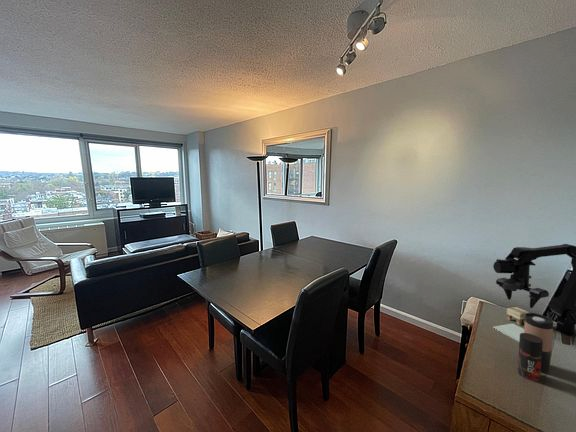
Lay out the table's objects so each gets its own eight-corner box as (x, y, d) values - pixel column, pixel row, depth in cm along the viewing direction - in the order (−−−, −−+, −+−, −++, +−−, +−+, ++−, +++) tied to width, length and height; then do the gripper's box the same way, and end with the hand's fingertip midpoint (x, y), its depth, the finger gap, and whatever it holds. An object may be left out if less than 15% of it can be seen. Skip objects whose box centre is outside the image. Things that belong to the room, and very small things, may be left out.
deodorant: (533, 370, 90) (535, 334, 88) (544, 382, 84) (547, 344, 83) (513, 367, 92) (516, 331, 90) (523, 379, 86) (525, 341, 85)
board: (512, 324, 120) (512, 323, 120) (541, 339, 108) (541, 337, 108) (493, 328, 118) (493, 326, 118) (520, 342, 106) (520, 341, 106)
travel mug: (536, 359, 96) (540, 312, 94) (556, 373, 88) (560, 323, 86) (516, 358, 97) (519, 312, 95) (534, 372, 89) (537, 323, 87)
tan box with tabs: (515, 317, 126) (516, 307, 126) (528, 323, 120) (529, 312, 120) (506, 319, 125) (507, 308, 125) (519, 325, 119) (520, 314, 119)
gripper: (488, 269, 122) (487, 298, 124) (532, 282, 104) (530, 315, 106) (504, 267, 125) (503, 295, 126) (550, 278, 107) (548, 311, 108)
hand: (519, 303), depth 116 cm, fingers open, 9 cm apart
